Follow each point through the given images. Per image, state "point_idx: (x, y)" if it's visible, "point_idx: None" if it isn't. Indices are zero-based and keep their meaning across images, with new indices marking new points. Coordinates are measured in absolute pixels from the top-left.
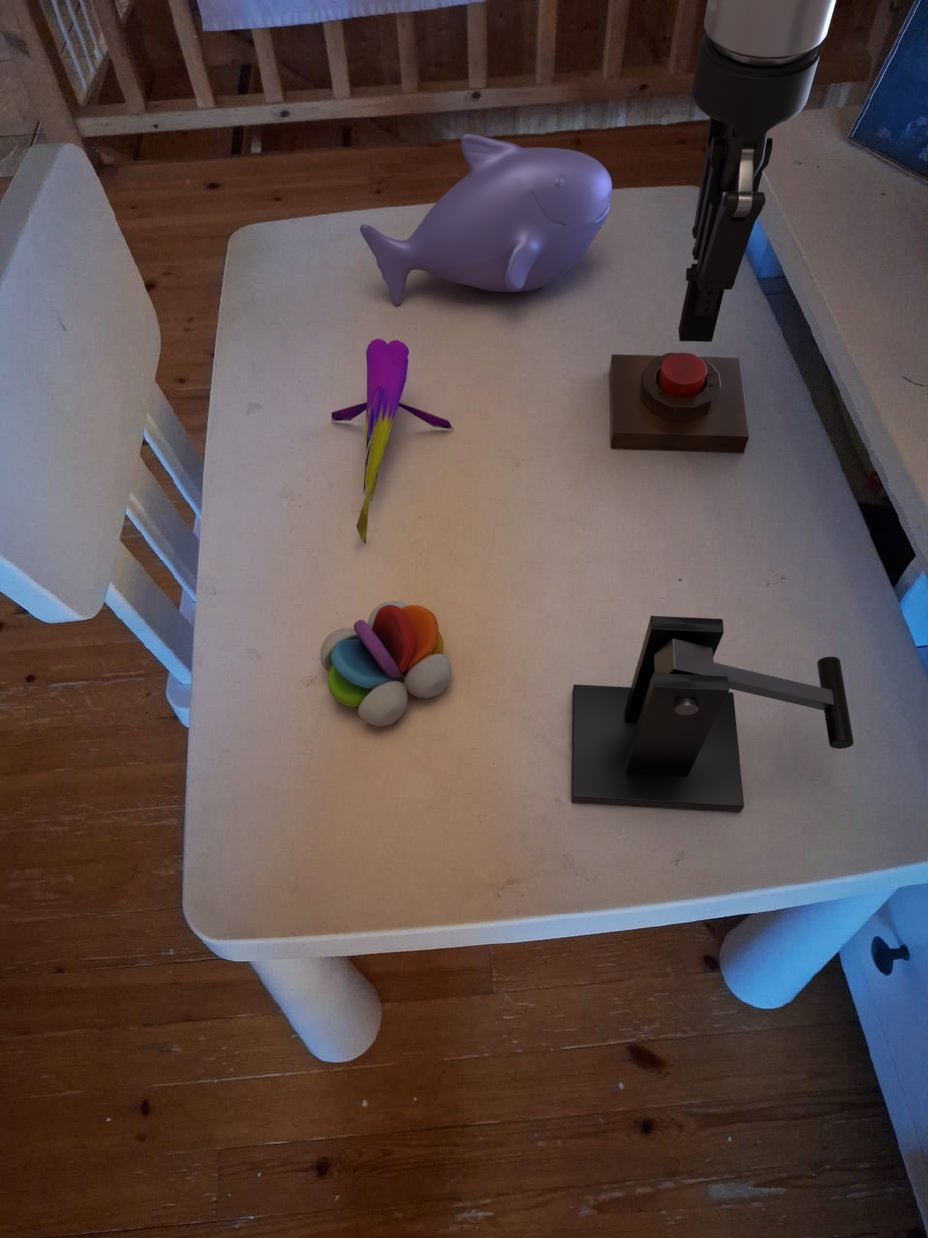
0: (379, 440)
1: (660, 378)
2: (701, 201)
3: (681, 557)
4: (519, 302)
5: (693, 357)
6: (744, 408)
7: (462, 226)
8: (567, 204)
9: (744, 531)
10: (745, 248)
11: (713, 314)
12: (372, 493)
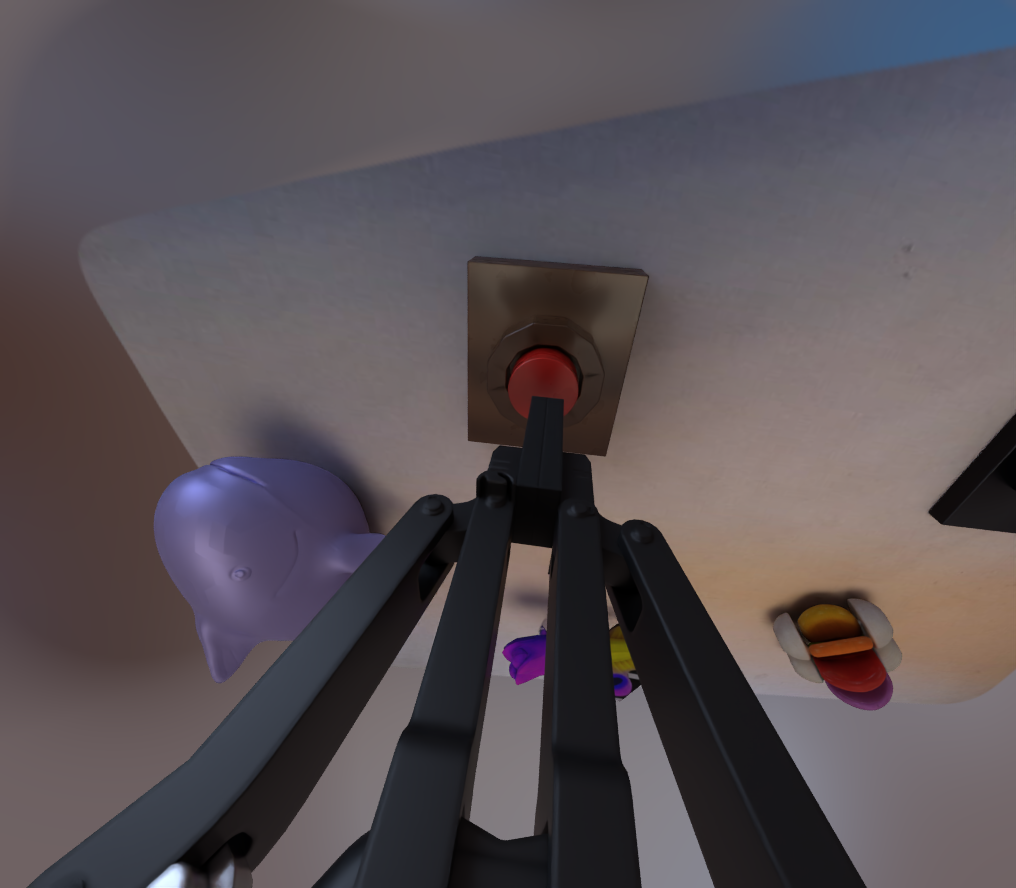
0: (615, 656)
1: None
2: (411, 628)
3: (802, 385)
4: (369, 498)
5: (520, 374)
6: (586, 273)
7: None
8: (269, 546)
9: (793, 294)
10: (753, 692)
11: (588, 459)
12: None
